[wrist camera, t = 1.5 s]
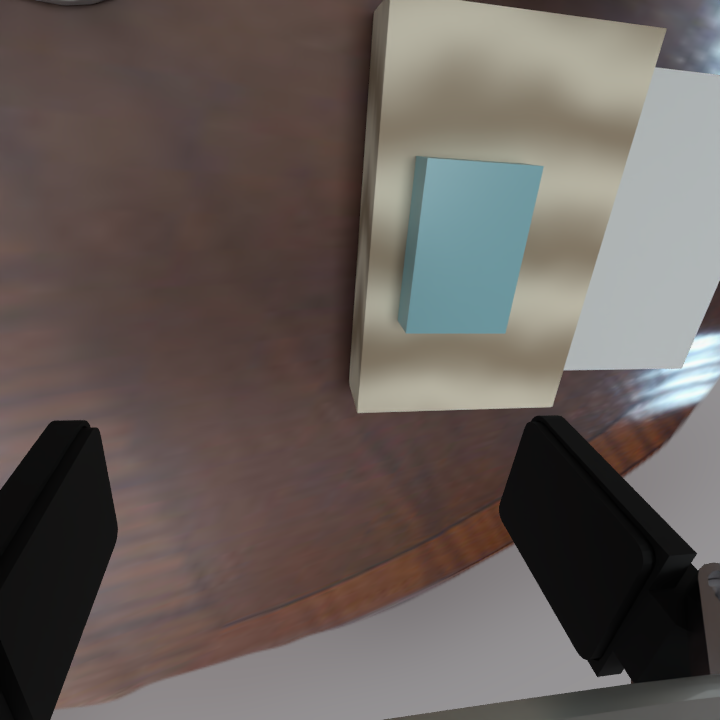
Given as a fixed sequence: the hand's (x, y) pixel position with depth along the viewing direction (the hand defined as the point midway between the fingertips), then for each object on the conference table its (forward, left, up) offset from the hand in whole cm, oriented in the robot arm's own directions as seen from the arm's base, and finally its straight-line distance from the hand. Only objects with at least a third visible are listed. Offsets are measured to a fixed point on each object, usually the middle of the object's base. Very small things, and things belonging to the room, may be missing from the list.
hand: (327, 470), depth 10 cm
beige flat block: (-2, +11, -21) cm, 23 cm away
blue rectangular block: (-2, +9, -17) cm, 19 cm away
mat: (-2, +25, -21) cm, 32 cm away
